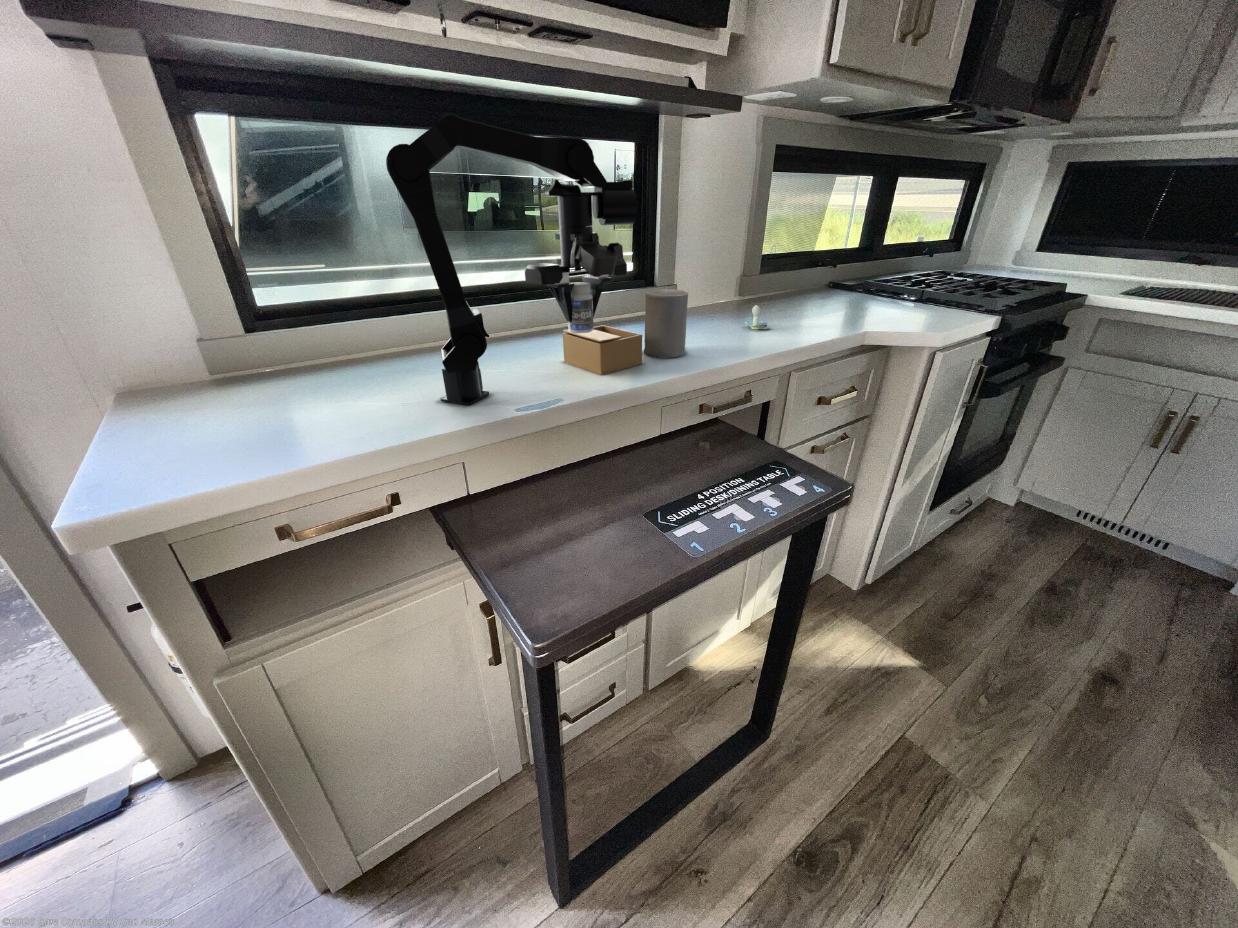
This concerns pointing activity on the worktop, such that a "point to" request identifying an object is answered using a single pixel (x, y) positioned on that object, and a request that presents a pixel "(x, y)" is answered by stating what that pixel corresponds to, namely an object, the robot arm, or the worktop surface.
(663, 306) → the pillar candle
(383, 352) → the worktop surface
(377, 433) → the worktop surface
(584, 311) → the pill bottle
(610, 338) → the flap
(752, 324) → the pacifier
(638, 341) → the carton
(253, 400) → the worktop surface
